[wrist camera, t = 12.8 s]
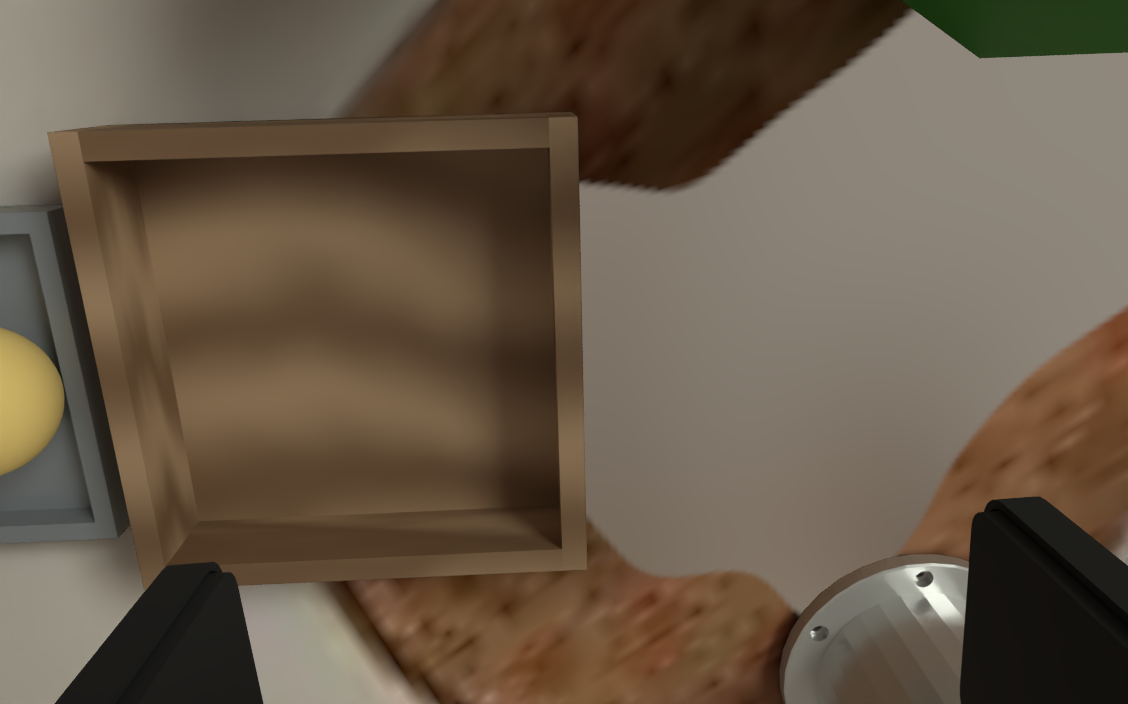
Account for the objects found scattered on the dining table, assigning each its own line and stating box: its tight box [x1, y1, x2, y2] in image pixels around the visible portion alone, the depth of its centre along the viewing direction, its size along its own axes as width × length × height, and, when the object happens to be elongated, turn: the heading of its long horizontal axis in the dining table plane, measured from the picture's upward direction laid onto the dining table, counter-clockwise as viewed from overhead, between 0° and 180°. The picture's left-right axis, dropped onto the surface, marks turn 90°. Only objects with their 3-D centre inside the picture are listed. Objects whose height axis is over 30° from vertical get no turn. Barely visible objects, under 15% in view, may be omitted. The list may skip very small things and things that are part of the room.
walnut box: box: [47, 112, 587, 590], centre depth 34 cm, size 18×18×4 cm
